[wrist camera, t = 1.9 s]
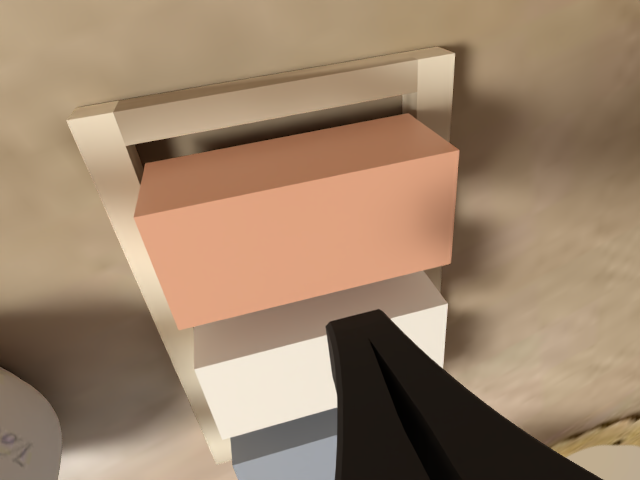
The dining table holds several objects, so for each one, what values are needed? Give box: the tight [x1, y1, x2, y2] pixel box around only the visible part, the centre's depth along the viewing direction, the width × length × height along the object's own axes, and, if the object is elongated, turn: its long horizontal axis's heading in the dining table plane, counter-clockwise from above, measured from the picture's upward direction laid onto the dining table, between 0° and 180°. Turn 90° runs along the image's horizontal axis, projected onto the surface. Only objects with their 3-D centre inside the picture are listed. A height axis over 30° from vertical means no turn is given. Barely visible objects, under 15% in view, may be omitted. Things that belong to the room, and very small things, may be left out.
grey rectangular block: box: [230, 408, 337, 480], centre depth 23 cm, size 4×10×4 cm, turn 96°
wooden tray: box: [66, 47, 455, 465], centre depth 22 cm, size 21×14×2 cm, turn 6°
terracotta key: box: [134, 113, 459, 330], centre depth 16 cm, size 4×10×4 cm, turn 96°
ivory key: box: [194, 271, 448, 440], centre depth 20 cm, size 4×10×4 cm, turn 96°
